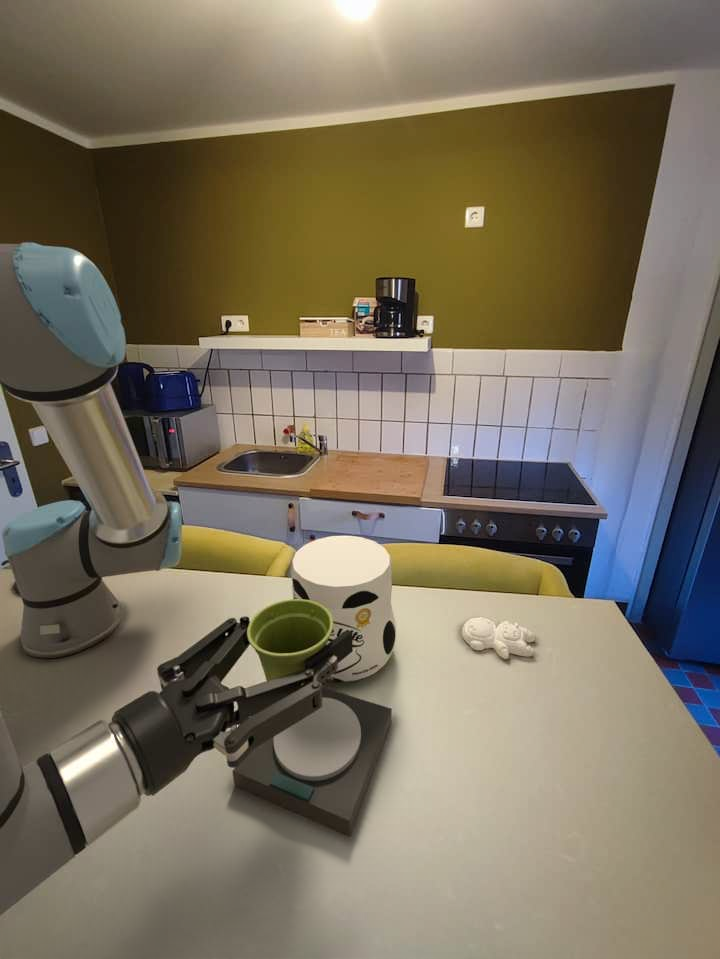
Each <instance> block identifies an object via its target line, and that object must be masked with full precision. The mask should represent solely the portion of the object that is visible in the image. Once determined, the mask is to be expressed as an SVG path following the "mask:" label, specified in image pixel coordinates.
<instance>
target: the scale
mask: <svg viewBox="0 0 720 959" xmlns="http://www.w3.org/2000/svg"><path fill="white" fill-rule="evenodd" d="M392 711H393V710H392V708H390V707H388V706H384V705H380V704H377V703H374V702H371V701H369V700H365V699H362V698H359V697H355V696H353V695H349V694H347V693H343V692H340V691H337V690H334V689H330V688H328V687H324V686H322V707H321V708H320V709H319V710H317V711H315V712H314V713H312V714H310V715H309V716H307V717H305V718H304V719H302V720H301V721H299V722H297V723H296V724H294V725H292V726H291V727H289V728H288V729H286V730H284V731H283V732H281V733H279V734H278V735H276V736H274V737H273V738H271V739H270V740H268V741H266V742H265V743H263V744H261V745H260V746H258V747H256V748H255V749H253V750H252V752H251V753H250V754H249V755H248V756H247V757H246V758H245V759H244V760H243V761H242V762H241V763H240V764H239V765H238V766H237V767H235V768H233V769H232V770H231V771H232V778H233V785H234V786H235V787H237V788H239V789H241V790H244V791H246V792H248V793H251V794H253V795H255V796H257V797H259V798H262V799H264V800H265V801H269V802H271V803H274V804H276V805H278V806H280V807H282V808H285V809H287V810H289V811H291V812H293V813H296V814H298V815H300V816H303V817H304V818H305V817H306V818H307V819H309V820H312V821H314V822H317V823H319V824H321V825H323V826H325V827H328V828H330V829H333V830H335V831H337V832H339V833H342V834H344V835H346V836H349V837H351V835H352V832H353V829H354V826H355V824H356V821H357V818H358V815H359V813H360V810H361V807H362V805H363V802H364V800H365V796H366V794H367V790H368V787H369V786H370V782H371V779H372V777H373V775H374V771H375V768H376V766H377V763H378V760H379V757H380V755H381V752H382V749H383V746H384V745H385V744H384V743H385V741H386V739H387V735H388V732H389V731H390V727H391V725H392V719H393V718H392V714H393V712H392Z"/></svg>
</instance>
